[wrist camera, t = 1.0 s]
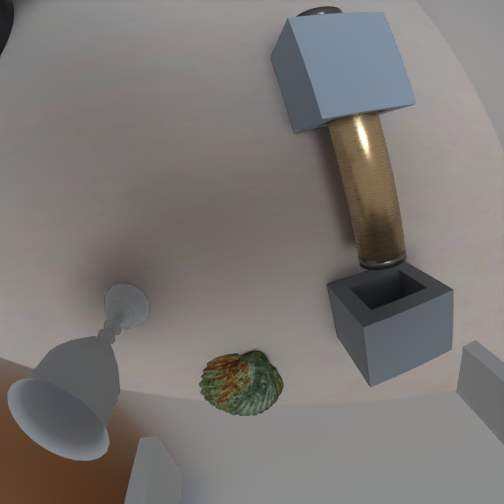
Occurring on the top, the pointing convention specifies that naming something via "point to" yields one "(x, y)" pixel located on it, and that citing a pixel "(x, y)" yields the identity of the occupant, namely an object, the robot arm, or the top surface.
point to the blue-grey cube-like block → (339, 68)
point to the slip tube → (367, 184)
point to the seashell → (241, 383)
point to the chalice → (78, 384)
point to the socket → (392, 320)
